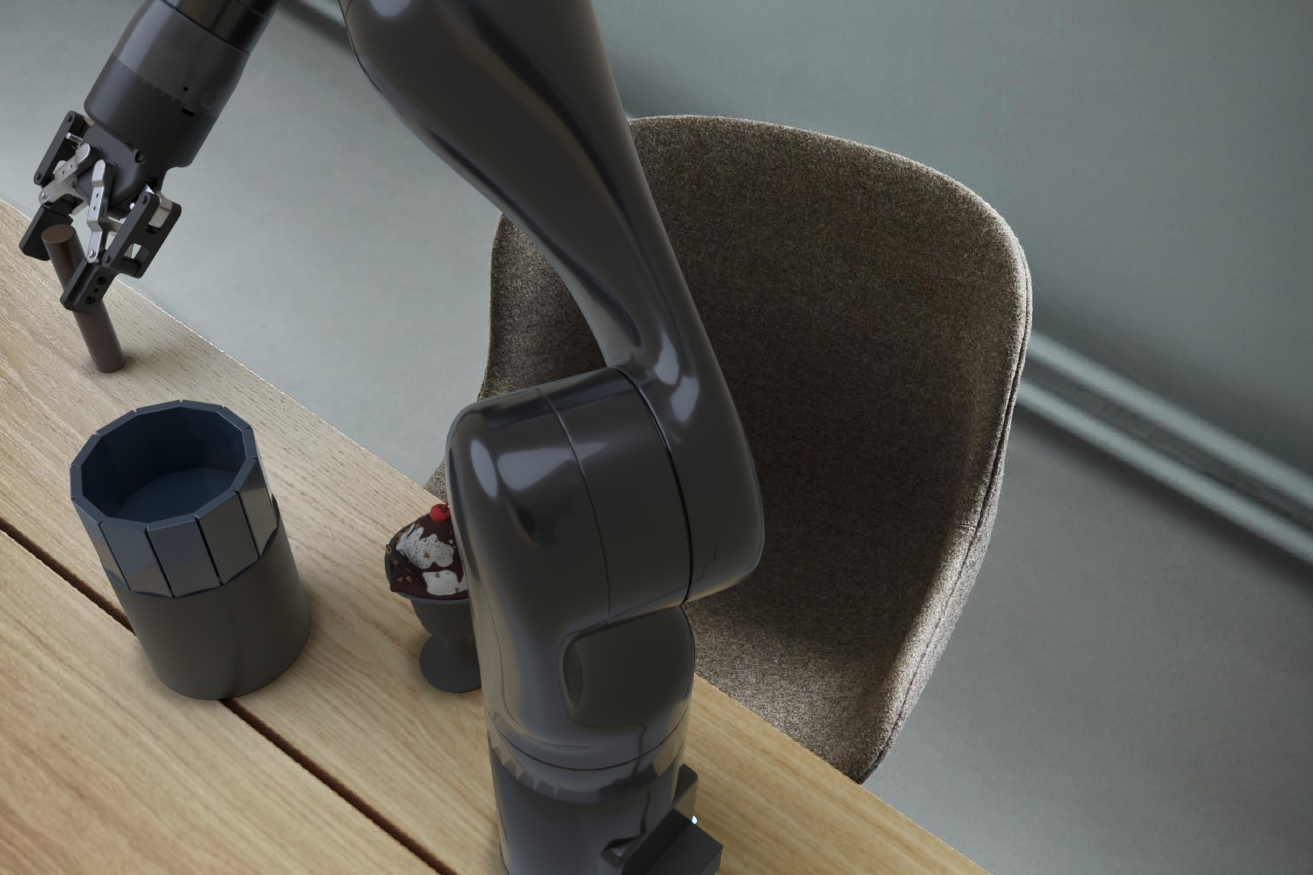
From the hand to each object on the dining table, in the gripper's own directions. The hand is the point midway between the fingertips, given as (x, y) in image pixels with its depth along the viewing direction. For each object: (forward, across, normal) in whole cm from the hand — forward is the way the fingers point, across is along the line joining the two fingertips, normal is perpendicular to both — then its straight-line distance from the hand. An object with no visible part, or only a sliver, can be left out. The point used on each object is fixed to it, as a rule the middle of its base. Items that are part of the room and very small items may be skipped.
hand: (53, 282), depth 80 cm
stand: (+8, +28, +4) cm, 30 cm away
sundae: (+1, +39, +11) cm, 40 cm away
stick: (+5, 0, +7) cm, 9 cm away
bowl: (+1, +28, -3) cm, 28 cm away
